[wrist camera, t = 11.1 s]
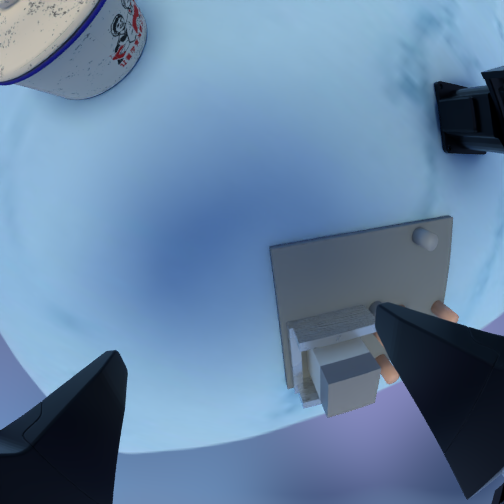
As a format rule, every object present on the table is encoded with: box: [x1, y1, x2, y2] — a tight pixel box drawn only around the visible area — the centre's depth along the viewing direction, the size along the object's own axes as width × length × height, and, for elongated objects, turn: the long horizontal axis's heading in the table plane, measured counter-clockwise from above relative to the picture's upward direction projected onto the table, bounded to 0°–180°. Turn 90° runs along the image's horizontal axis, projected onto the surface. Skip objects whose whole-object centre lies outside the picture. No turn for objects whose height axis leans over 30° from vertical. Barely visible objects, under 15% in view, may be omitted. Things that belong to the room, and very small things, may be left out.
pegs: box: [369, 227, 459, 384], centre depth 22 cm, size 9×14×3 cm, turn 9°
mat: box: [270, 216, 453, 389], centre depth 23 cm, size 17×14×1 cm
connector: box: [307, 337, 381, 418], centre depth 21 cm, size 4×4×6 cm
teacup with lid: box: [0, 0, 147, 100], centre depth 8 cm, size 12×9×12 cm
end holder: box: [286, 304, 376, 408], centre depth 22 cm, size 7×8×3 cm
